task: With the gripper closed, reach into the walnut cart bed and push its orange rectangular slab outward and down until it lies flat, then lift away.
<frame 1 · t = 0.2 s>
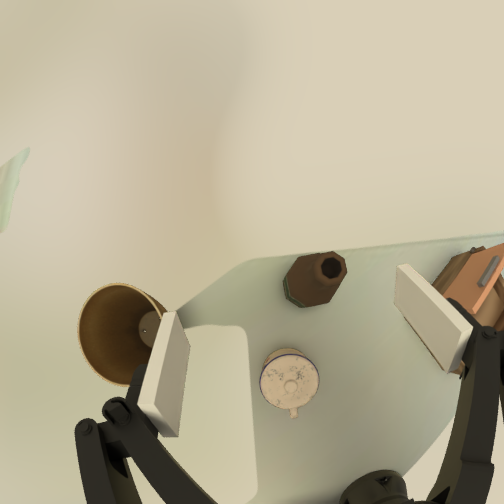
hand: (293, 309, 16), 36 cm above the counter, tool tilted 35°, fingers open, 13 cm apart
orange rectangular slab: (472, 277, 36), point 14 cm above the counter, hinge at 0.0°
plant pot: (158, 329, 52), on the counter
beer bottle: (303, 286, 52), on the counter
teacup with lid: (287, 378, 49), on the counter
cart bed: (450, 313, 48), on the counter
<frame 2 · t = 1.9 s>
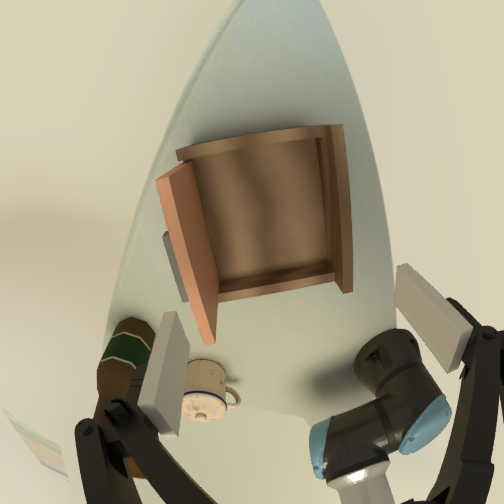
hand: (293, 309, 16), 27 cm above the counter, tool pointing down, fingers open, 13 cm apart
orange rectangular slab: (191, 244, 27), point 14 cm above the counter, hinge at 0.0°
beer bottle: (136, 332, 49), on the counter
teacup with lid: (211, 374, 54), on the counter
cart bed: (259, 196, 40), on the counter
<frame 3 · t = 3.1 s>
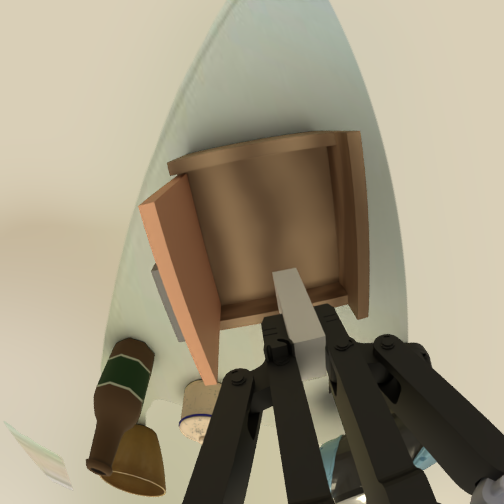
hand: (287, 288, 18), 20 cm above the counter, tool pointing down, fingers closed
orange rectangular slab: (187, 272, 24), point 14 cm above the counter, hinge at 0.0°
plant pot: (142, 430, 56), on the counter
beer bottle: (135, 352, 45), on the counter
teacup with lid: (214, 393, 50), on the counter
cart bed: (263, 209, 37), on the counter
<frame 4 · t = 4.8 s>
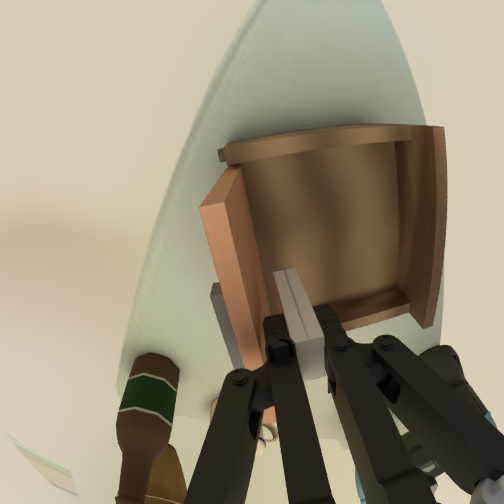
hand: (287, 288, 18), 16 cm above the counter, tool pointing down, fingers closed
orange rectangular slab: (245, 288, 19), point 14 cm above the counter, hinge at 5.1°, touching gripper
plant pot: (160, 446, 51), on the counter
beer bottle: (157, 368, 41), on the counter
teacup with lid: (242, 407, 46), on the counter
cart bed: (311, 209, 32), on the counter
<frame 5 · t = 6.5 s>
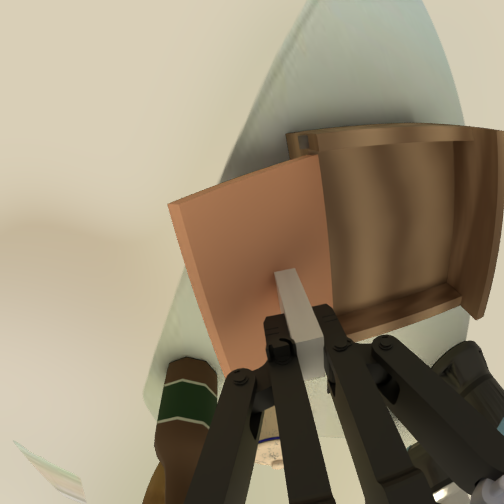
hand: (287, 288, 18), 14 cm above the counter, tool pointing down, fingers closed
orange rectangular slab: (274, 281, 20), point 12 cm above the counter, hinge at 46.5°, touching gripper
plant pot: (183, 453, 50), on the counter
beer bottle: (191, 373, 39), on the counter
teacup with lid: (277, 410, 44), on the counter
cart bed: (365, 204, 31), on the counter
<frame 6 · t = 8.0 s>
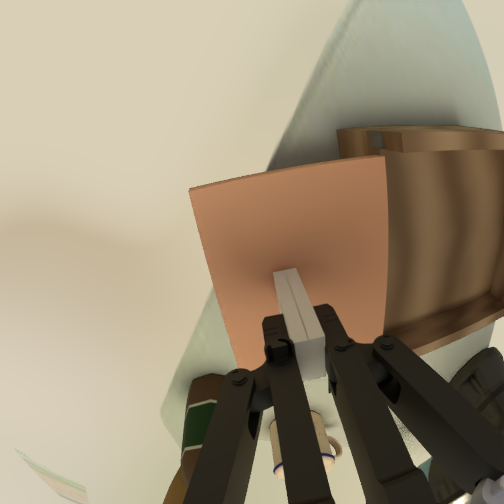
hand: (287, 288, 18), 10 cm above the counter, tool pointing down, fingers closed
orange rectangular slab: (305, 277, 19), point 9 cm above the counter, hinge at 85.9°, touching gripper
plant pot: (199, 466, 46), on the counter
beer bottle: (216, 389, 36), on the counter
teacup with lid: (303, 423, 41), on the counter
cart bed: (412, 210, 27), on the counter
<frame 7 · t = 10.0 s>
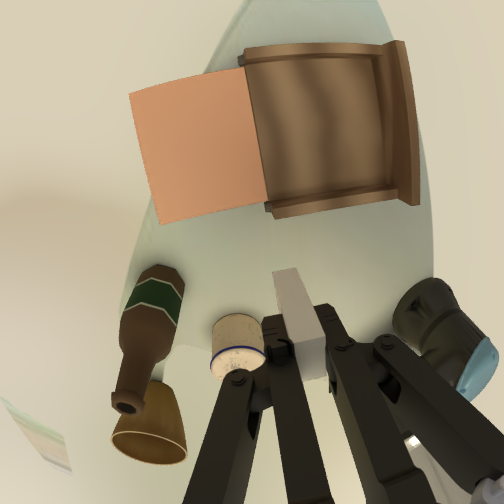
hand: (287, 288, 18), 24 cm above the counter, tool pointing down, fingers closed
orange rectangular slab: (198, 144, 28), point 9 cm above the counter, hinge at 86.1°
plant pot: (158, 389, 56), on the counter
beer bottle: (162, 283, 45), on the counter
teacup with lid: (244, 333, 51), on the counter
cart bed: (308, 123, 36), on the counter
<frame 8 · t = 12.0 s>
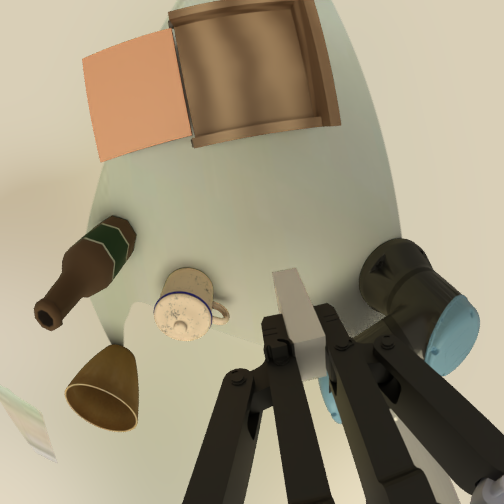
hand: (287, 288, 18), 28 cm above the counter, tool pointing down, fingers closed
orange rectangular slab: (134, 93, 29), point 9 cm above the counter, hinge at 86.1°
plant pot: (120, 355, 56), on the counter
beer bottle: (117, 236, 45), on the counter
teacup with lid: (197, 290, 51), on the counter
cart bed: (245, 77, 37), on the counter
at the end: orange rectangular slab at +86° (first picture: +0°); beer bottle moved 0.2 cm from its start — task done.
